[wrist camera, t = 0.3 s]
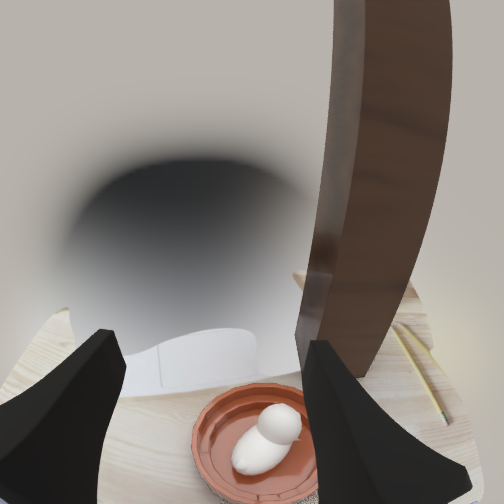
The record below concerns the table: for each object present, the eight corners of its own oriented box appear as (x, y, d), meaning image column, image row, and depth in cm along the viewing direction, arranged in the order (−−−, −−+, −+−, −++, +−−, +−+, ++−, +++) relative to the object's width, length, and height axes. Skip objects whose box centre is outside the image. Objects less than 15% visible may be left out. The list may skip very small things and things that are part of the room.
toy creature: (307, 436, 23) (322, 408, 20) (255, 492, 18) (261, 477, 15) (271, 413, 26) (278, 381, 23) (217, 463, 21) (213, 441, 17)
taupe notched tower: (367, 378, 30) (446, -44, 7) (300, 384, 30) (356, -82, 7) (350, 331, 38) (403, -22, 15) (292, 333, 38) (329, -45, 15)
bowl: (337, 502, 17) (350, 495, 15) (192, 508, 16) (186, 502, 15) (318, 398, 28) (326, 380, 26) (201, 399, 28) (198, 380, 26)
